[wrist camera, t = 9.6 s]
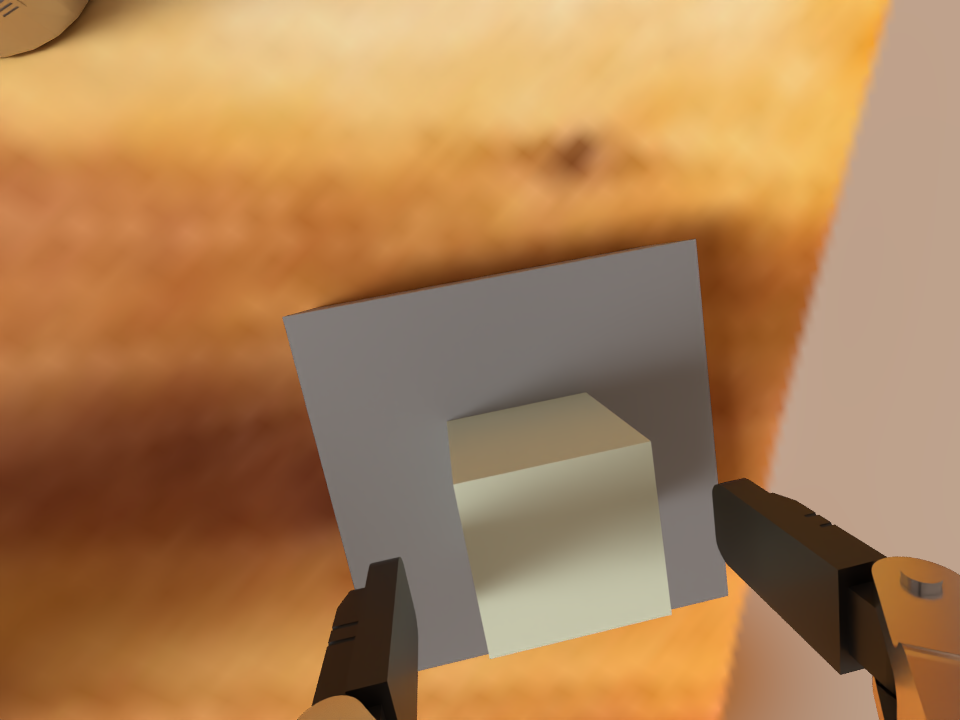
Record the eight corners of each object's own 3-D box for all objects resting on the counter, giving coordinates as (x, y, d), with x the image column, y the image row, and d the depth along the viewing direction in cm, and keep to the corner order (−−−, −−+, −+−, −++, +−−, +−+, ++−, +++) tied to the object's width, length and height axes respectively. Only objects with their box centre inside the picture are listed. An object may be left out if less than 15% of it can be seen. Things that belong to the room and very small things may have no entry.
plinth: (313, 308, 19) (282, 317, 15) (643, 246, 20) (695, 238, 16) (388, 607, 22) (379, 680, 18) (676, 540, 23) (728, 595, 19)
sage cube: (446, 421, 16) (453, 484, 11) (585, 392, 16) (650, 440, 12) (473, 549, 17) (489, 658, 12) (604, 519, 17) (671, 614, 13)
